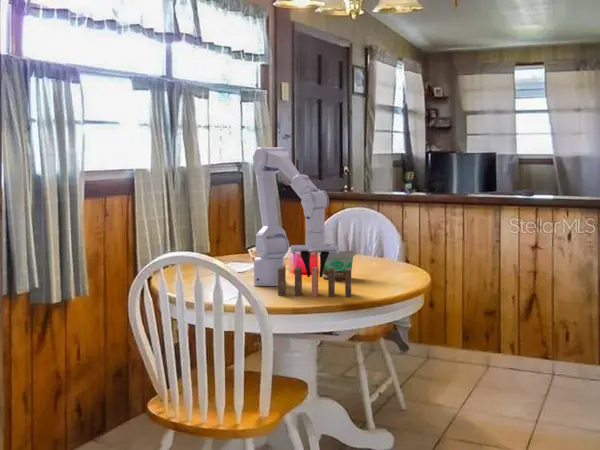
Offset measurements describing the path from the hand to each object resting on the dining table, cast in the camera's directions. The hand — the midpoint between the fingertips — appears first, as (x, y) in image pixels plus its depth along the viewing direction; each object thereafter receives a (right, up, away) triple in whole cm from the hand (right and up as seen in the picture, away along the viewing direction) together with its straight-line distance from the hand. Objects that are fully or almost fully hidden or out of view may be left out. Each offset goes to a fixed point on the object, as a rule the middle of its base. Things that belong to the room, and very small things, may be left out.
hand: (314, 276), depth 213 cm
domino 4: (+5, -6, 0) cm, 7 cm away
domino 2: (-5, -5, +1) cm, 7 cm away
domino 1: (-10, -5, +2) cm, 11 cm away
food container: (+9, -3, +25) cm, 26 cm away
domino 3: (0, -6, +1) cm, 6 cm away
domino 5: (+10, -6, 0) cm, 11 cm away
